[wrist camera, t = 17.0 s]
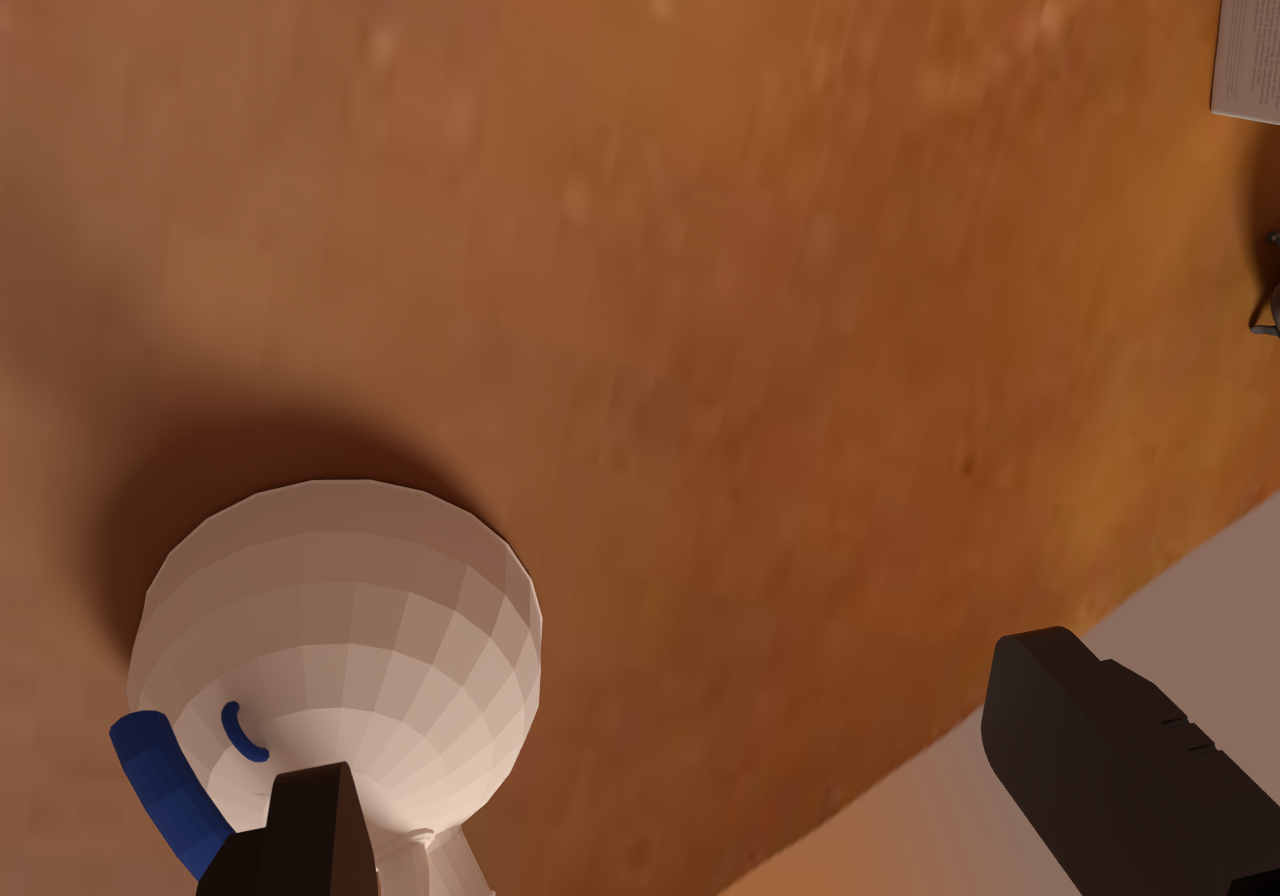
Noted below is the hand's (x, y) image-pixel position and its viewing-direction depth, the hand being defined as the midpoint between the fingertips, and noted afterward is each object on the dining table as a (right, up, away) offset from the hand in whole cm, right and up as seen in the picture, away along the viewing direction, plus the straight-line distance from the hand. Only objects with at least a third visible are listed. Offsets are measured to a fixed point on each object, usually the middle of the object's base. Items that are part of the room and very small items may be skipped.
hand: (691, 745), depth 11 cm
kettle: (-16, -7, +38) cm, 42 cm away
